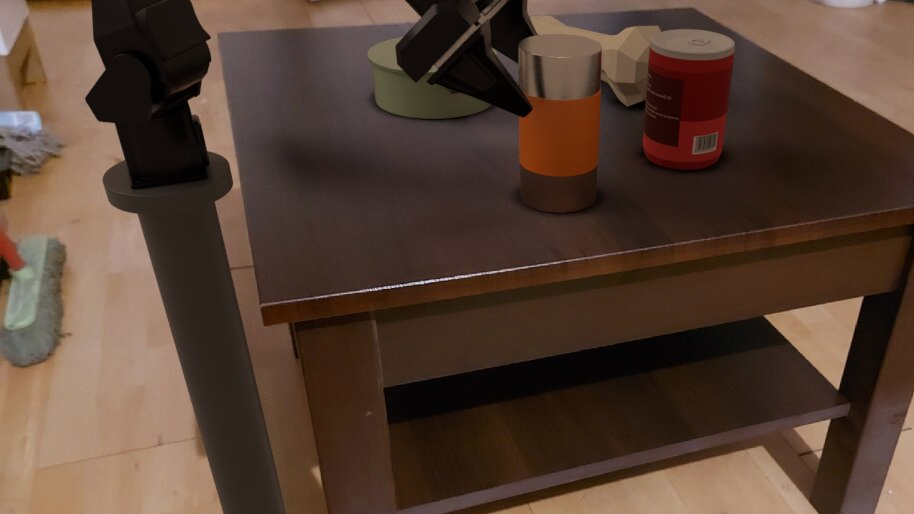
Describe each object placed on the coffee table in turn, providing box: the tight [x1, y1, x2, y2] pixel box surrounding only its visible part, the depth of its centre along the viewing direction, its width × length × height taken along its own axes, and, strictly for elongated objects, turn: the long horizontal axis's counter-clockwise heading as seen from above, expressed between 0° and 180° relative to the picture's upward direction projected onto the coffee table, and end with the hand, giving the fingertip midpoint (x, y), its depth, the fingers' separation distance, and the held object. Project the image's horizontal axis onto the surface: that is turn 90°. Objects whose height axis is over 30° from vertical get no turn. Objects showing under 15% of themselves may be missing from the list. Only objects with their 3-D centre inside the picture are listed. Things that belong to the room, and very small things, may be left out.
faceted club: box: [529, 15, 662, 108], centre depth 101 cm, size 9×8×25 cm
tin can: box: [518, 34, 602, 214], centre depth 72 cm, size 7×7×13 cm
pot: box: [366, 36, 498, 120], centre depth 94 cm, size 14×17×5 cm
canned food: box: [642, 28, 736, 171], centre depth 82 cm, size 8×8×11 cm
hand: (541, 94), depth 71 cm, fingers open, 9 cm apart
